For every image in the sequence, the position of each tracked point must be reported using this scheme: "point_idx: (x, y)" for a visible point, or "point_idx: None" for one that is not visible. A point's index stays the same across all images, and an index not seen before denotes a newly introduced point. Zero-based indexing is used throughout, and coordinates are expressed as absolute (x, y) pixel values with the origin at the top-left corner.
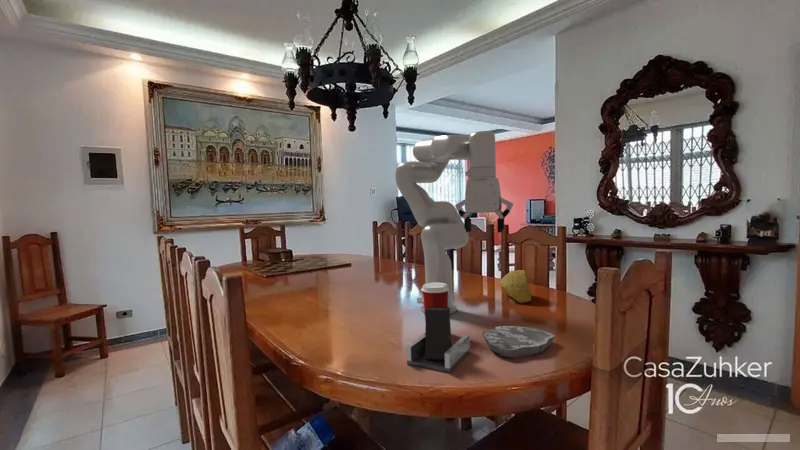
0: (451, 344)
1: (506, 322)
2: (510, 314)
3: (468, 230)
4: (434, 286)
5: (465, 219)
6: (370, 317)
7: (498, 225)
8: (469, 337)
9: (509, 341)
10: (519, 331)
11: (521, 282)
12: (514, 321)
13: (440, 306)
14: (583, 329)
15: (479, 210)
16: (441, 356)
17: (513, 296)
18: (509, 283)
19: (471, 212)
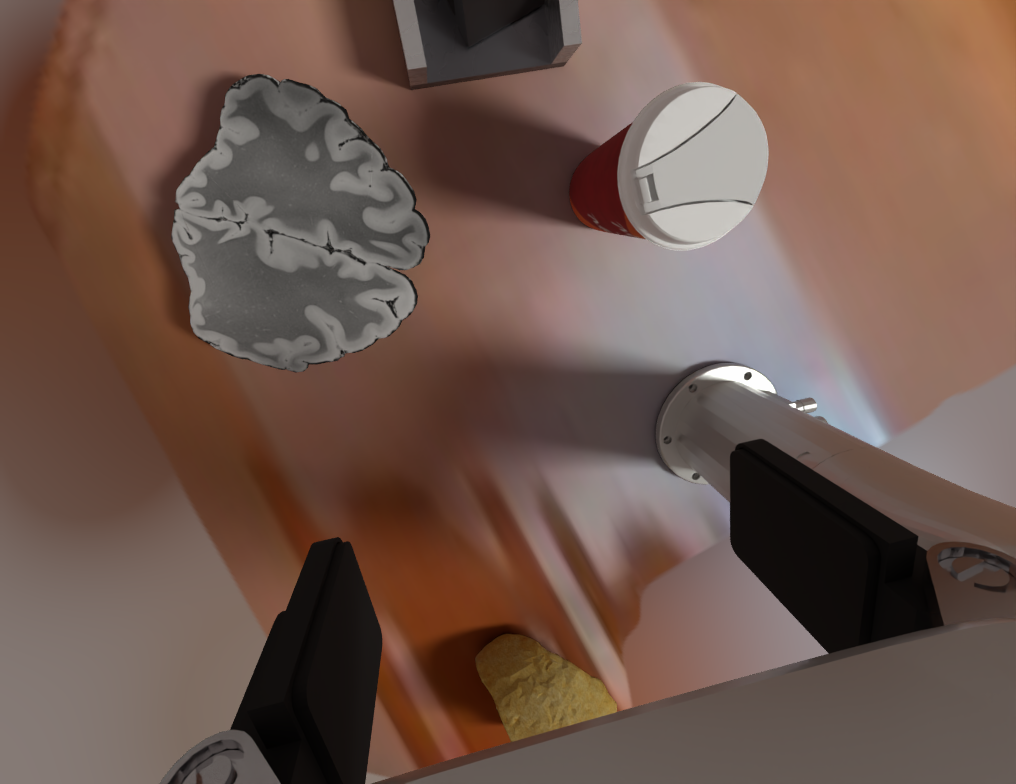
0: (465, 36)
1: (454, 440)
2: (483, 520)
3: (740, 467)
4: (691, 128)
5: (917, 563)
6: (907, 211)
7: (305, 600)
8: (408, 73)
9: (289, 176)
10: (318, 303)
11: (516, 706)
12: (437, 464)
13: (611, 142)
14: (213, 516)
15: (726, 727)
16: None
17: (532, 642)
18: (562, 689)
19: (922, 632)
